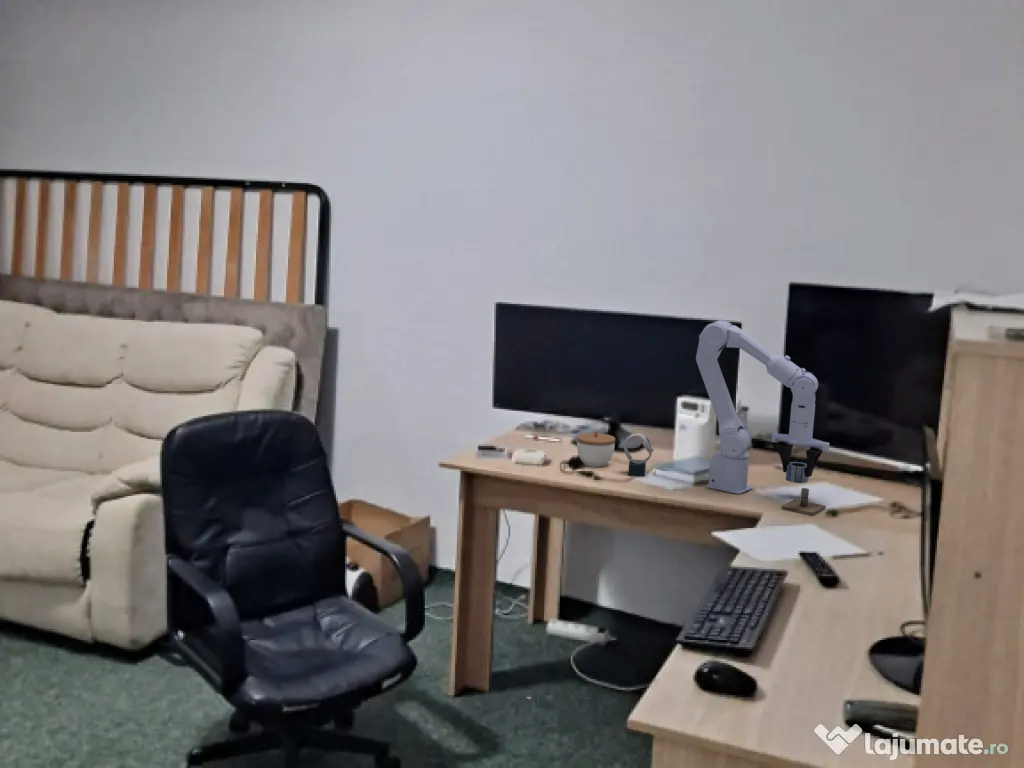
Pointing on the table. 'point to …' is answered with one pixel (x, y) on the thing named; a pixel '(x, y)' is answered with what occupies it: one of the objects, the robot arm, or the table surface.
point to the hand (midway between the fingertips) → (797, 473)
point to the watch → (638, 465)
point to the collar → (796, 472)
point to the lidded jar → (595, 448)
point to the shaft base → (804, 509)
